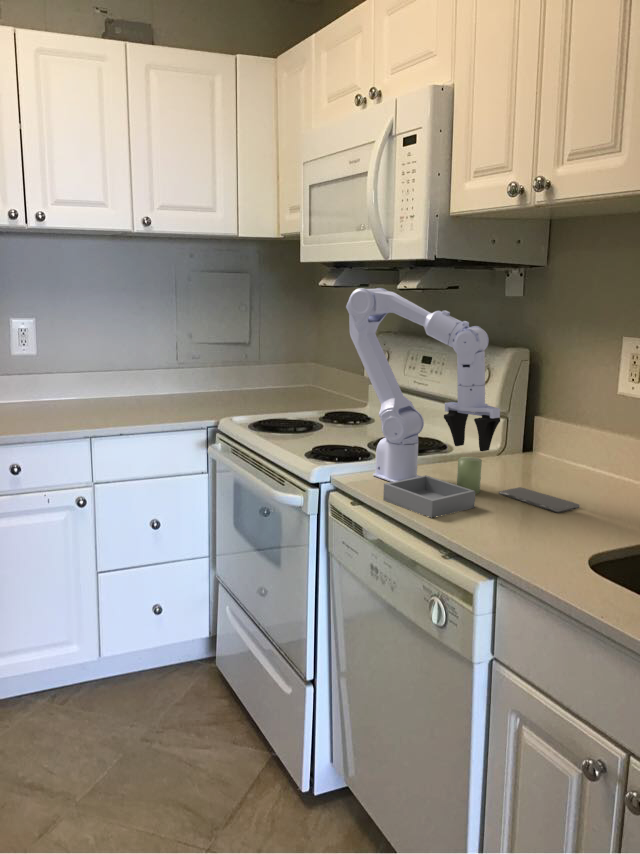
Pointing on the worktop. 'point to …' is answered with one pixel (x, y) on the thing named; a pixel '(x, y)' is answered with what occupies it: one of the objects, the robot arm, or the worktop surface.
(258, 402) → the worktop surface
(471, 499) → the grey bin
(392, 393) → the robot arm
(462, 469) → the green cylinder
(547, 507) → the smartphone
